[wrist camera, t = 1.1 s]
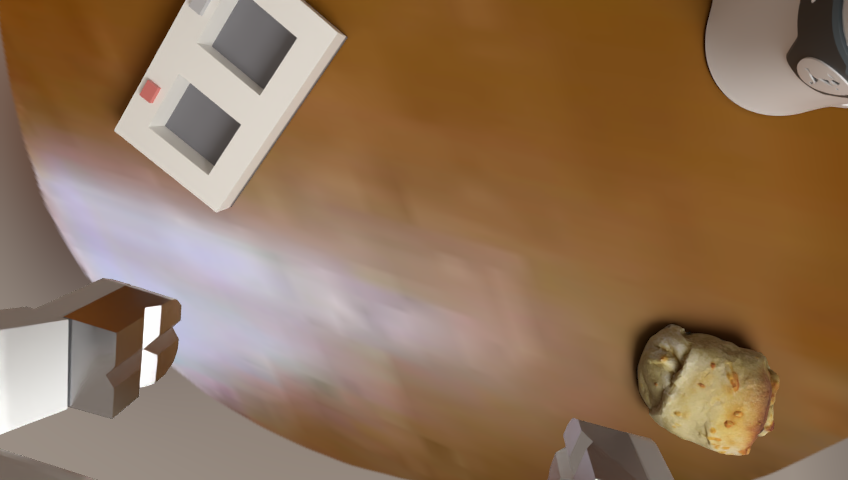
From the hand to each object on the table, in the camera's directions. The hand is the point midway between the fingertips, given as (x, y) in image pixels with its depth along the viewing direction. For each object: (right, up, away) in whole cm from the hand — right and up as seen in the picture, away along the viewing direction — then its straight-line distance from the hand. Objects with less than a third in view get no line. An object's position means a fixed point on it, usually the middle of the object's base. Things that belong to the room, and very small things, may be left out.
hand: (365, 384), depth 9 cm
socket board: (-18, +19, +38) cm, 46 cm away
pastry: (+30, -11, +41) cm, 52 cm away
